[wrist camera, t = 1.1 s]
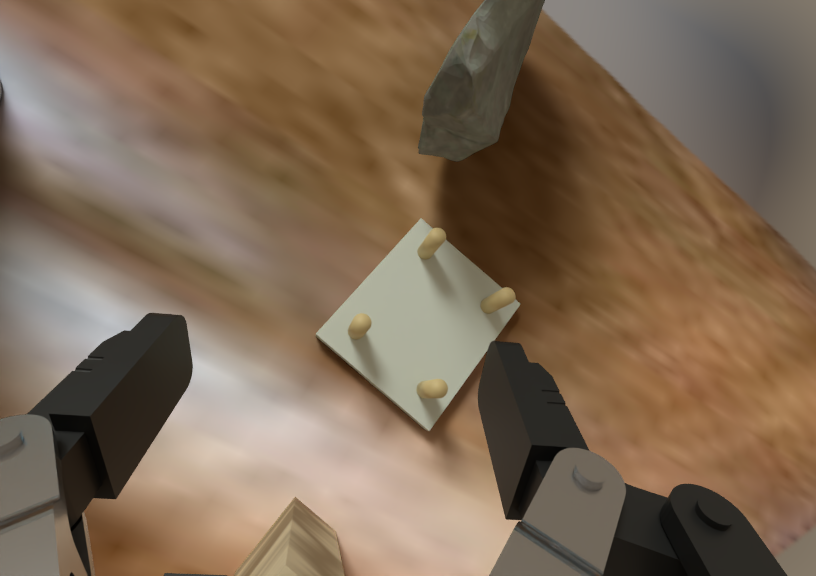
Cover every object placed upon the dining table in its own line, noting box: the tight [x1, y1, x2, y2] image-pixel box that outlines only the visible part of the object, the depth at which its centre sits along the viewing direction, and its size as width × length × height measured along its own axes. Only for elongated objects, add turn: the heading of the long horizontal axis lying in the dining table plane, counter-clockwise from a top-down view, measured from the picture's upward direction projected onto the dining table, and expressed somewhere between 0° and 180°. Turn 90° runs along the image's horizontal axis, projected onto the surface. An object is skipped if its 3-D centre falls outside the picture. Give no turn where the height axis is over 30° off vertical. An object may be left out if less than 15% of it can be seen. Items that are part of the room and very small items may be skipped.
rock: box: [418, 0, 545, 161], centre depth 35 cm, size 27×6×20 cm, turn 158°
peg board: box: [316, 219, 520, 431], centre depth 35 cm, size 12×14×5 cm
